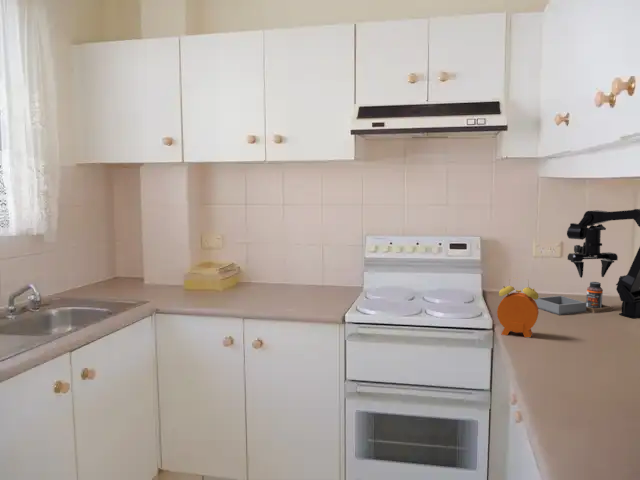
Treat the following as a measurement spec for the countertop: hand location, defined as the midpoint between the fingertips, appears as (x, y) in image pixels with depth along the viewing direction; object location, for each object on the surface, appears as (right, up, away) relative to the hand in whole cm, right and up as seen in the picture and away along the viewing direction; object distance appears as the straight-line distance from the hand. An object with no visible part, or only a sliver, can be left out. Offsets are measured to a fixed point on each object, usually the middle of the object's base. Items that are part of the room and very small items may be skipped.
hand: (591, 277), depth 231 cm
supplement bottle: (0, -13, -2) cm, 14 cm away
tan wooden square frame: (0, -13, -2) cm, 13 cm away
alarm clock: (-45, -18, -37) cm, 61 cm away
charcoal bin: (-15, -13, -3) cm, 20 cm away
